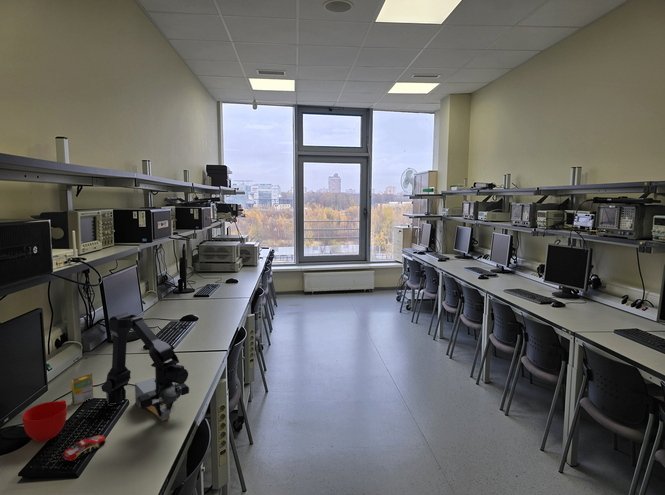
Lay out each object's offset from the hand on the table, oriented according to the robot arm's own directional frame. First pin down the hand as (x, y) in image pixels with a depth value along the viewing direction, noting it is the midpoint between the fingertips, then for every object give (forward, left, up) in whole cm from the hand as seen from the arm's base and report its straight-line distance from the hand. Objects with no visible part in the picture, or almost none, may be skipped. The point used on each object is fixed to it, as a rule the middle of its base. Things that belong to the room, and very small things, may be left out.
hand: (164, 414), depth 152 cm
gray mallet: (-1, +6, -1) cm, 6 cm away
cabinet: (+2, +14, -2) cm, 14 cm away
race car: (-27, -2, -2) cm, 28 cm away
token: (+2, +10, -2) cm, 11 cm away
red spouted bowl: (-35, +18, -2) cm, 39 cm away
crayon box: (-21, +36, -2) cm, 42 cm away
